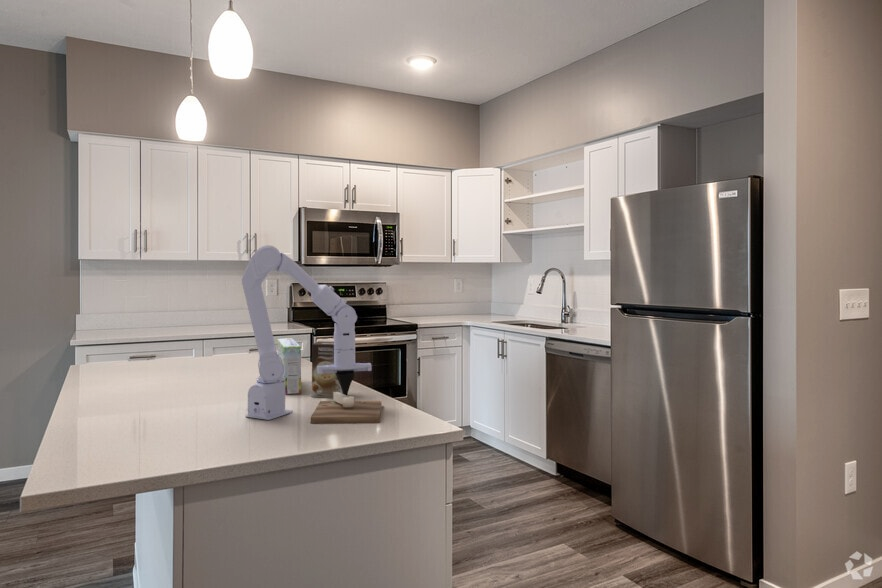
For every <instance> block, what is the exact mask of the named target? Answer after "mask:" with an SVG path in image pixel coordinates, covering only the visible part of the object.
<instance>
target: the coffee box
mask: <svg viewBox="0 0 882 588" xmlns="http://www.w3.org/2000/svg"><path fill="white" fill-rule="evenodd" d="M332 364H334V341H317V342H314V343H312V345H311V395H310V396H311V398H328V399H333V392H339V393H342V389H341V386H340V383H339V381H338V378H337V376H336V374H335V373H322V374H318V373H317V366H323V365H332ZM334 371H335V370H334ZM342 394H343V393H342Z"/></svg>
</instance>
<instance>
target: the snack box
mask: <svg viewBox="0 0 882 588" xmlns="http://www.w3.org/2000/svg"><path fill="white" fill-rule="evenodd" d="M301 349H302V348H301V345H300V344H298V342H297V341H296V340H294V339H293V337H290V338H289V337H286V338H277V354H278V355H279V356H280V358H281V359H282V362H283V364H284V368H285V370H284V374H283V377H285V396H287V395H289V396H290V395H300V394H302V364H301V363H302V358H301V357H302V351H301Z"/></svg>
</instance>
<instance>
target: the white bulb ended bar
mask: <svg viewBox="0 0 882 588" xmlns="http://www.w3.org/2000/svg"><path fill="white" fill-rule="evenodd" d="M332 399H333V400H332V401H336V402H338V403H340V404H343V407H353V406H354V401H355V396H352V395H344V394H342V393H339V392H333V398H332Z"/></svg>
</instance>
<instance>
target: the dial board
mask: <svg viewBox="0 0 882 588" xmlns="http://www.w3.org/2000/svg"><path fill="white" fill-rule="evenodd" d="M382 403H383V400H354V406H353V407H343V404H340V403H338V402H336V401H333V400H320V401H319V402H318V404H317V406H316V407H315V409H314V410H313V412H312V414H311V416H310V424H353V423H355V424H356V423H357V424H358V423H359V424H361V423H363V424H364V423H371V424H373V423H375V424H376V423H380V421H381V413H382V406H383V405H382Z"/></svg>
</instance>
